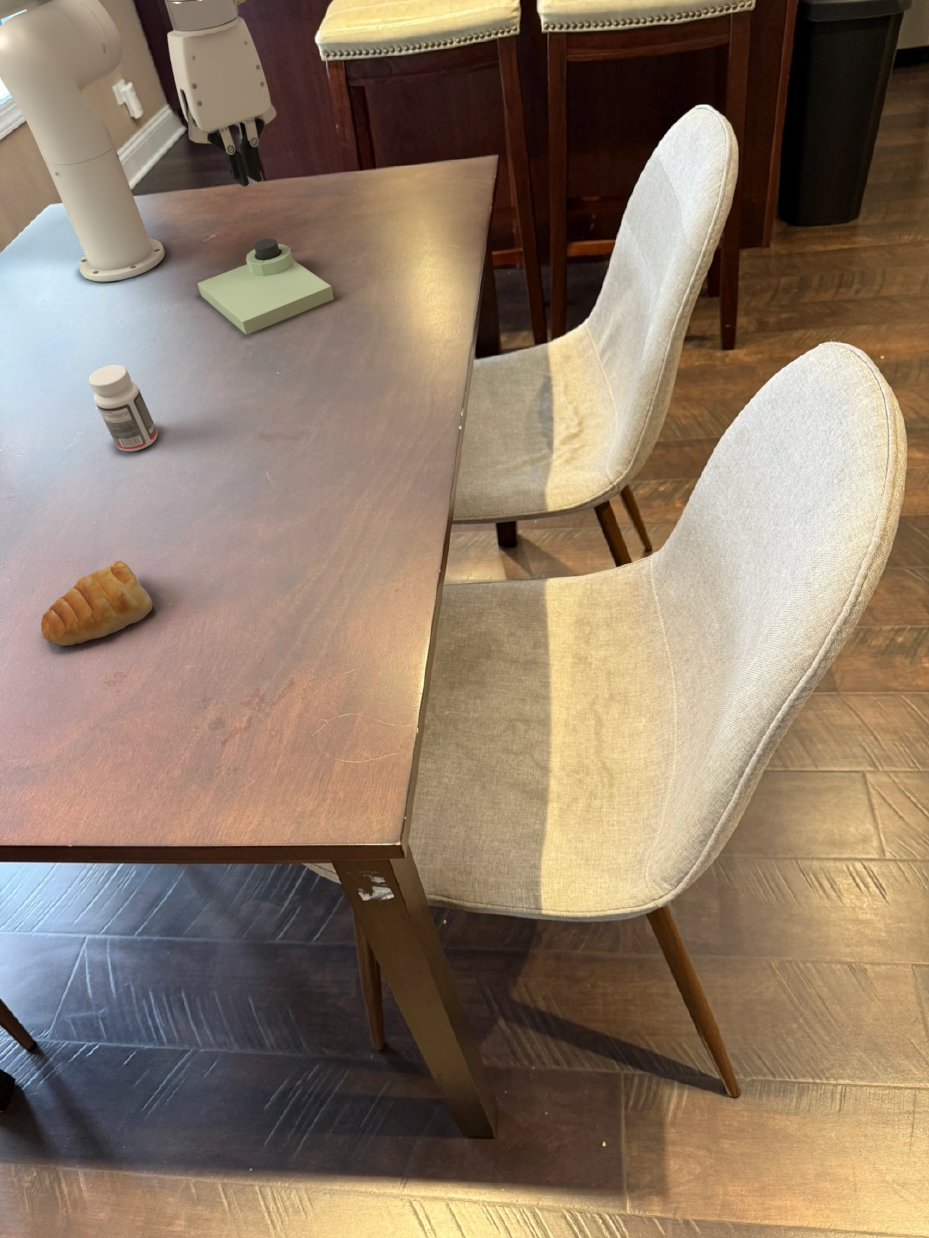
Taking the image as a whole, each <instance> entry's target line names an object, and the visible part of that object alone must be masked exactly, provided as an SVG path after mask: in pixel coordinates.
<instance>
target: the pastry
mask: <svg viewBox="0 0 929 1238" xmlns="http://www.w3.org/2000/svg"><path fill="white" fill-rule="evenodd" d="M152 610H153V600H152V599H151V597H150V594H149V593H148V591H147V590H146V589H145V587H143V586H142V585H141V582H140V580H139V578H138V577H137V575H136V574H135V573H134V572H133V571H132V569H131V568H130V567H129V565H128V564H126V562H124V561H122V560H115V562H113V564H112V565H110V566H107V567H105V568H103V569H101V570H100V569H99V570H97V571H93V572H92V573H91V574H89V575H85V576H83V577H81V578H79V579H78V580H77V582H76V583H75V585H74V586H72V587H71V588H70V589H69V590H68V591H67V592H66V594H64V595H63V596H60V597H59V598H58V599H56V601H55V602H54V603H53V604H52V605H51V606H50V607H49V608H48V609H47V611H46V612H45V613H43V615H42V617H41V622H40V626H41V627H40V628H41V629H40V630H41V633H42V636H43V638H44V639H45V640H47V642H49V643H52V644H55V645H58V646H74V645H76V644H84V643H85V642H87V641H91V640H99V639H101V638H104V637H106V636H108V635H111V634H114V633H116V632H118V631H120V630H122V629H125V628H126V627H127V626H128V625H130V624H136V623H137V622H139V621H141V620H142V619H144V618H145V617H146V616H147V615H148V614H149V613H150V612H151V611H152Z"/></svg>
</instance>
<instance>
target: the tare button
mask: <svg viewBox="0 0 929 1238" xmlns="http://www.w3.org/2000/svg"><path fill="white" fill-rule="evenodd" d="M278 244H279V243H278V240H277V239H276V238H264V239H261V240H260V239H259V240H258V241H256V242H255V243H254V245H253V249H255V252H256V255H257V259H258V260H270V259H273V258H276V257H278V256H279V255H280V251H279V247H278Z"/></svg>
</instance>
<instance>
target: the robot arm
mask: <svg viewBox="0 0 929 1238" xmlns="http://www.w3.org/2000/svg"><path fill="white" fill-rule="evenodd" d="M164 3H165V6H166V9H167V13H168V17H169V20H170V23H171V26H172V30H171V31H169V32H168V33H167V44H168V52H169V59H170V62H171V69H172V73H173V77H174V82H175V87H176V91H177V95H178V99H179V104H180V106H181V110H182V114H183V117H184V119H185V120H186V122H187V127H188V128H187V130H188V134H187V135H188V139H189V140H190V141H191V142H193V143H195V144H209V145H210V144H211V145H213V146H215V147H216V148H217V149H219V150H221V151H222V152H223V155H224V159H225V162H226V166H227V170H228V173H229V176H230V178H231V179H232V180H233V181H235V183H237V184H239V185H241V186H242V187H243V188H245V187H248V186H249V184H250V181H249V179H251V180H252V181H254V182H257V183H260V182H262V181H263V179H262V174H261V172H262V171H263V167H262V164H261V159H260V155H259V151H258V148H257V147H258V146H259V143H260V140H259V139H260V136H261V135H262V132H263V130H264V128H265V126H266V125H268V124H269V123H271V121H273V120H274V119H275V118H276V117H277V115H278V114H277V111H276V109H275V106H274V105H273V103H272V101H271V96H270V91H269V87H268V84H267V79H266V75H265V72H264V70H263V65H262V63H261V60H260V56H259V54H258V51H257V48H256V46H255V43H254V40H253V38H252V35H251V32H250V30H249V28H248V25H247V23H246V21H245V19H244V18H243V17H241V16H238V15H240V11H239V7H240V6H241V5H242V4H246V0H164ZM15 14H16V15H15ZM10 16H12V17H10ZM8 17H10V18H8ZM6 18H7V19H6ZM3 19H6V20H5V21H4V22H3V23H2V24H0V80H1V81H2V83H3V85H4V86H5V89H7V91H8V93H9V94H10V96H11V97H12V99H13V100H14V102H15V104H16V106H17V107H18V109H19V111H20V113H21V114H22V116H23V118H24V120H25V121H26V123H27V125H28V127H29V129H30V132H31V134H32V136H33V138H34V141H35V142H36V145H37V147H38V149H39V152H40V154H41V157H42V158H43V161H44V162H45V165H46V168H47V169H48V172H49V174H50V177H51V179H52V182H53V183H54V186H55V188H56V191H57V193H58V195H59V197H60V200H61V202H62V205H63V207H64V209H65V212H66V215H67V217H68V218H69V222H70V223H71V227H72V228H73V231H74V232H75V235H76V237H77V240H78V242H79V245H80V247H81V248H82V251H83V254H84V255H83V256H82V257H81V259H80V260H79V262H78V270H79V271H80V274H81V275H82V277H84V278H85V279H87V280H90V281H93V282H99V283H100V282H104V283H105V282H106V283H107V282H117V281H123V280H127V279H131V278H133V277H137V276H139V275H141V274H144V273H146V272H148V271H150V270H152V269H154V268H155V267H156V266H157V265H158V264H160V263H161V261H163V259H164V257H165V253H166V252H165V248H164V246H163V244H162V242H160V241H159V239H158V240H157V239H155V238H151V237H149V235H148V233H147V230H146V227H145V224H144V222H143V221H144V220H143V219H142V216H141V213H140V210H139V207H138V204H137V202H136V199H135V197H134V194H133V191H132V189H131V186H130V183H129V180H128V178H127V175H126V173H125V169H124V167H123V165H122V162H121V159H120V156H119V154H118V150H117V148H116V146H115V143H114V140H113V138H112V134H111V131H109V128H108V126H107V124H106V122H105V120H104V119H103V117H102V116H101V115H100V114H99V112H98V111H97V110H96V109H95V108H94V107H93V106H92V105H91V103H89V102H88V100H87V99H86V98H85V96H84V95H83V93H82V91H83V90H84V89H86V88H87V87H89V86H91V85H93V84H95V83H97V82H98V81H100V80H102V79H103V78H105V77H107V76H110V75H111V74H112V73H113V72H115V70H116V69H117V68H118V67H119V65H120V64H121V63H120V62H121V60H122V57H123V44H122V39H121V36H120V33H119V30H118V28H117V26H116V24H115V22H114V20H113V19H112V17H111V15H110V14H109V12H108V11H107V10H106V9H105V7H104V6H103V5H102V4H101V2H100V1H99V0H0V20H3ZM232 125H233V126H234V125H238V130H239V134H240V143H239V151H238V149H237V147H236V146H235V143H234V140H233V137H232V134H231V132H230V128H229V127H230V126H232Z"/></svg>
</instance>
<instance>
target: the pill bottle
mask: <svg viewBox="0 0 929 1238" xmlns="http://www.w3.org/2000/svg"><path fill="white" fill-rule="evenodd" d="M88 382H89V385H90V387H91V389H92V391H93V392H94V395H93V399H94V403H95V405H96V408H97V409H98V411H99V413H100V416H101V417H102V419H103V421H104V424H105V425H106V427H107V430H108V432H109V434H110V436H111V438H112V440H113V442H114V444H115V446H116V448H118V449H119V450H121V451H122V452H136V451H137V452H138V451H141V450H144V449H145V448H147V447H149V446H151V445H152V444H153V443H154V442H155V441H156V440H157V438H158V430H157V427H156V425H155V423H154V420H153V418H152V415H151V413H150V410H149V409H148V407H147V405H146V402H145V400H144V397H143V395H142V393H141V391H140V388H139V387H138V384H136V382H134V381H132V378H131V376H130V373H129V372H128V369H127V368H126V367H125V366H123V365H120V364H110V365H106V366H103V367H102V366H101V367H100V368H97V369H95V371H93V372H92V373H91V374H90V375H89V377H88Z"/></svg>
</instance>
